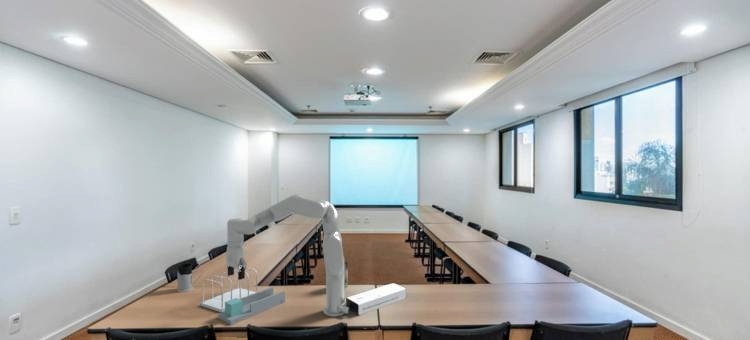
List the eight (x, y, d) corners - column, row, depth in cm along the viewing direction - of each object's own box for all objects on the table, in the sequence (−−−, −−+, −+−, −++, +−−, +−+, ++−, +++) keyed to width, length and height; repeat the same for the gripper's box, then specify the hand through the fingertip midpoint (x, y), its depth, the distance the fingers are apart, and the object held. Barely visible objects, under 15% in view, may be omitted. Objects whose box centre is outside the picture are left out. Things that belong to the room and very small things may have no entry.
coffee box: (338, 291, 198) (338, 265, 198) (330, 289, 202) (330, 263, 202) (348, 287, 206) (348, 261, 205) (340, 284, 210) (340, 259, 209)
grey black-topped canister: (177, 288, 205) (176, 264, 204) (203, 284, 211) (202, 261, 211) (176, 293, 197) (176, 268, 197) (203, 289, 204) (202, 265, 203)
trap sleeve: (285, 302, 184) (284, 291, 184) (231, 325, 158) (230, 312, 158) (271, 296, 191) (271, 286, 191) (218, 318, 165) (217, 306, 165)
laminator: (358, 316, 167) (358, 304, 167) (344, 308, 177) (344, 296, 176) (406, 298, 188) (406, 288, 188) (392, 292, 198) (392, 282, 198)
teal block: (242, 312, 167) (242, 300, 167) (231, 316, 162) (231, 304, 162) (236, 309, 171) (236, 297, 170) (225, 313, 166) (224, 301, 166)
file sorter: (221, 313, 171) (221, 283, 171) (200, 306, 179) (199, 278, 179) (259, 295, 193) (258, 269, 193) (238, 290, 201) (238, 265, 201)
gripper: (219, 242, 168) (219, 275, 169) (238, 247, 158) (238, 282, 158) (233, 239, 174) (233, 271, 175) (252, 244, 164) (252, 278, 164)
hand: (236, 277), depth 166 cm, fingers open, 9 cm apart
